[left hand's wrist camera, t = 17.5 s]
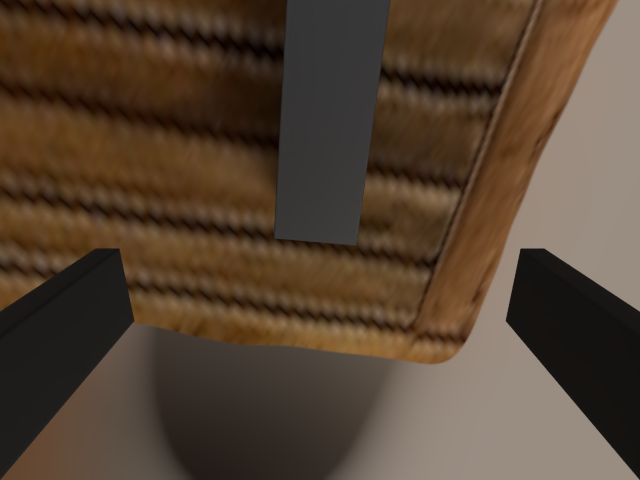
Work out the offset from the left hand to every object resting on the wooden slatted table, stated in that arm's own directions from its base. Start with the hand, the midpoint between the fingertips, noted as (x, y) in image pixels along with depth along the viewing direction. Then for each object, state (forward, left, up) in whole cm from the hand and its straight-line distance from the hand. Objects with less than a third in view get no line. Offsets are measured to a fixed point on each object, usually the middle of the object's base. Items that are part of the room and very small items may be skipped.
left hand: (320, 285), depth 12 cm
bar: (0, +10, -22) cm, 24 cm away
